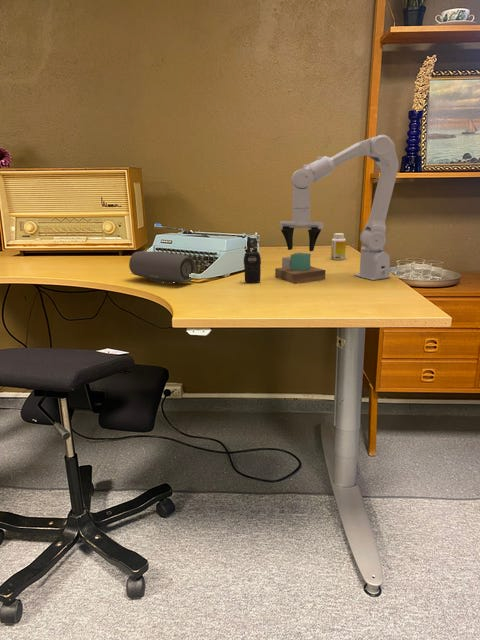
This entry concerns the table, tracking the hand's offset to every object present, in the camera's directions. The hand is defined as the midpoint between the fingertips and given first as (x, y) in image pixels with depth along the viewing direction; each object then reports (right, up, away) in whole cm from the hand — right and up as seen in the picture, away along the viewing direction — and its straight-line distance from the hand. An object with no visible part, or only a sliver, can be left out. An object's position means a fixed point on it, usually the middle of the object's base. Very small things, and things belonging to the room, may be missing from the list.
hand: (300, 250), depth 156 cm
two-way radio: (-16, -11, -1) cm, 19 cm away
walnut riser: (0, -9, +3) cm, 9 cm away
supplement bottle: (+20, +1, +35) cm, 40 cm away
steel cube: (-1, -6, +14) cm, 15 cm away
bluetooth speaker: (-46, -10, +3) cm, 47 cm away
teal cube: (0, -6, +2) cm, 6 cm away
